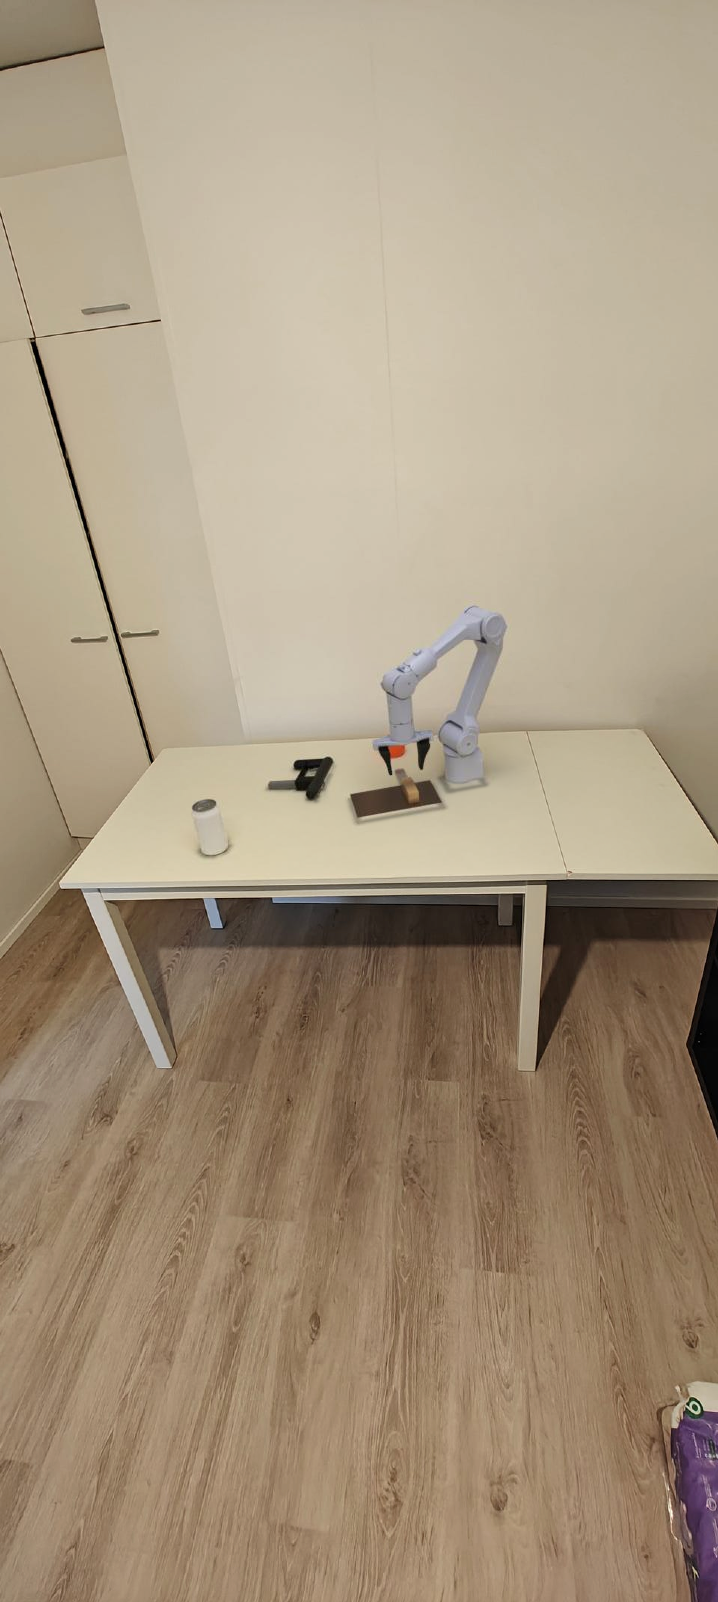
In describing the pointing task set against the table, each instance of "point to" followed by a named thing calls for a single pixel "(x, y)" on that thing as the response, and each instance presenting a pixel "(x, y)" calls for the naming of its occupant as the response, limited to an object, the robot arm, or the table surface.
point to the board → (392, 799)
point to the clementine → (396, 750)
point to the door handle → (307, 782)
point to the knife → (407, 786)
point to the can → (209, 827)
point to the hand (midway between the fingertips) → (405, 770)
